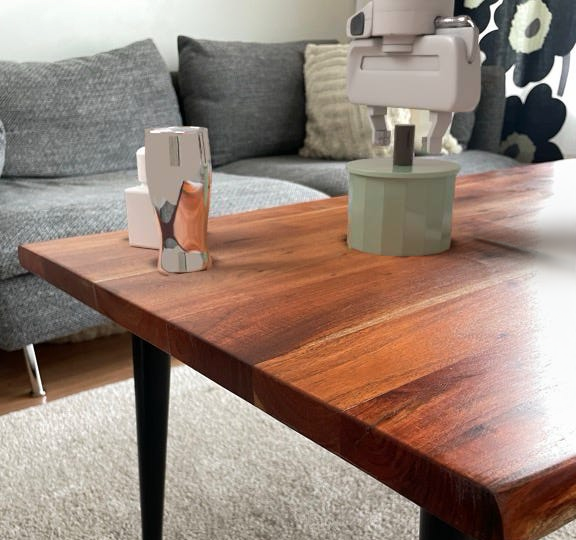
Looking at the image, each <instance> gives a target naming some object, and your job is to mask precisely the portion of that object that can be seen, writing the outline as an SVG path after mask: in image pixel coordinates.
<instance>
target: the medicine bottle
mask: <svg viewBox="0 0 576 540" xmlns="http://www.w3.org/2000/svg"><path fill="white" fill-rule="evenodd" d="M135 154H136V165H137V178H138V181H139V182H140V183H141V185H136V186H131V187H128V188H127V187H126V188H125V189H124V191H123V193H124V202H125V203H124V204H125V213H126V214H125V215H126V222H127V224H126V225H127V233H128V234H127V235H128V243H129V246H130V247H135V248H144V249H150V250H151V249H152V250H159V234H158V228H157V224H156V220H155V216H154V212H153V208H152V204H151V200H150V196H149V191H148V186H147V179H146V168H145V145H144V146H142V147H140V148H139V149H137V151H136V152H135Z"/></svg>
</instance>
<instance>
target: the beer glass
mask: <svg viewBox="0 0 576 540" xmlns="http://www.w3.org/2000/svg"><path fill="white" fill-rule="evenodd" d="M143 130H144V146H145V168H146V179H147V186H148V191H149V196H150V200H151V204H152V208H153V212H154V216H155V220H156V224H157V228H158V234H159V249H158V260H157V271H158V273H159V274H161V275H163V276H167V277H170V276H178V275H183V274H192V273H197V272H204V271H211V270H213V263H212V258H211V254H210V250H209V249H210V248H209V243H208V226H209V225H208V224H209V215H210V209H211V200H212V199H211V198H212V189H213V188H212V185H213V170H212V169H213V168H212V156H211V155H212V154H211V148H210V147H211V146H210V140H209V129H208V128H207V127H202V126H188V125H186V126H182V125H181V126H179V125H178V126H157V127H149V128H146V129H145V128H144V129H143Z"/></svg>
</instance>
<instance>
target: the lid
mask: <svg viewBox="0 0 576 540" xmlns="http://www.w3.org/2000/svg"><path fill="white" fill-rule="evenodd" d="M416 127H417V126H416V124H413V123H397V124H394V131H393V132H394V135H393V151H392V152H393V153H392V157H373V158H372V157H371V158H362V159H354V160H350V161H348V162H346V163H345V171H346V172H347V173H349V172H350V173H353V174H358V175H364V176H371V177H382V178H436V177H445V176H451V175H455V174H457V175H458V174H460V173H461V170H462V165H461V164H460V163H457V162H454V161H449V160H445V159H444V160H442V159H434V158H423V157H422V158H421V157H415V141H416V139H415V138H416Z"/></svg>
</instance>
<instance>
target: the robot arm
mask: <svg viewBox="0 0 576 540" xmlns="http://www.w3.org/2000/svg"><path fill="white" fill-rule="evenodd" d="M454 12H455V0H371V1H369V2H367V3H366V5H365V6H363V7H362V8H361V9H360V10H359V11H357V12H356V13H354V14H353V15H351V16H350V17H349V18H348V19H347V21H346V36H347V38H348V39H351V41H350V43H349V44H348V48H347V51H346V52H347V53H346V65H345V66H346V69H345V70H346V71H345V73H346V74H345V84H346V86H345V87H346V88H345V89H346V95H347V98H348V100H349V103H350V104H351V105H355V106H356V105H358V106H366V119H367V120H368V124H369V126H370V130H371V132H372V133H371V144H372V146H375V147H388V146H390V144H391V137H392V130H388V126H387V121H386V118H385V116H387V115H388V108H394V109H405V110H418V111H429V113H428V121H429V122H431V124H430V127H429V129H428V133H427V135H426V136H422V137H421V148H420V149H421V153H422V154H427V155H439V154H441V152H442V150H443V139H444V136H445V135H446V133H447V131H448V130H449V127H450V125H451V123H452V121H453V113H466V112H467V113H469V112H474V110H475V109H476V107H477V106H478V104H479V103H480V100H481V91H482V86H481V85H482V62H481V61H482V60H481V59H482V58H481V56H482V55H481V48H480V43H479V41H480V40H479V39H480V29H479V27H478V26H477V24H476V23H475V21H474V20H472V18H471V16H469V15H467V14H461V15H457V16H454Z"/></svg>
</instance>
